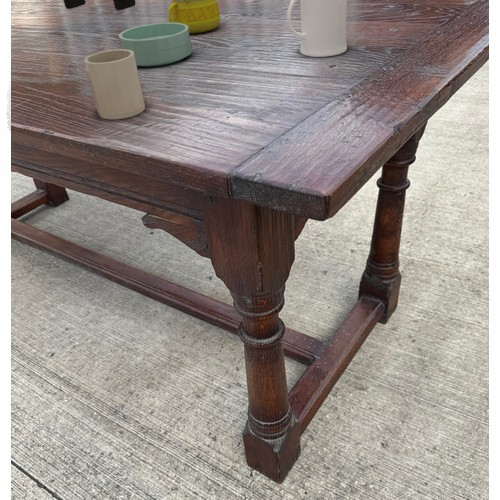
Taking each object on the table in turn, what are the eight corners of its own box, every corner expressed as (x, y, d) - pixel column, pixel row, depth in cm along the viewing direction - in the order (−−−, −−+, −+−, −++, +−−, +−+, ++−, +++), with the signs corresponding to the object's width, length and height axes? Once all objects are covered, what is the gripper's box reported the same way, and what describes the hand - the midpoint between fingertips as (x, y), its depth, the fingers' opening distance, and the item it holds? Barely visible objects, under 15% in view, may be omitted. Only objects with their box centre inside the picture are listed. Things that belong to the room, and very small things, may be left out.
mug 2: (298, 64, 88) (296, -13, 81) (276, 53, 95) (272, -19, 88) (356, 50, 92) (358, -24, 85) (330, 41, 98) (331, -29, 91)
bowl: (161, 71, 92) (156, 42, 89) (110, 64, 98) (103, 37, 95) (205, 51, 100) (202, 24, 97) (156, 46, 106) (151, 21, 104)
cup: (122, 122, 73) (108, 65, 68) (89, 115, 76) (73, 61, 71) (154, 105, 77) (144, 51, 73) (122, 100, 81) (109, 47, 76)
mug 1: (201, 22, 122) (193, -35, 115) (231, 27, 115) (225, -33, 108) (157, 34, 116) (146, -25, 108) (186, 40, 109) (176, -23, 102)
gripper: (-13, -144, 60) (37, 12, 70) (84, -166, 52) (126, 16, 62) (38, -146, 65) (78, 0, 75) (136, -167, 56) (166, 2, 66)
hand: (100, 7), depth 68 cm, fingers open, 9 cm apart
